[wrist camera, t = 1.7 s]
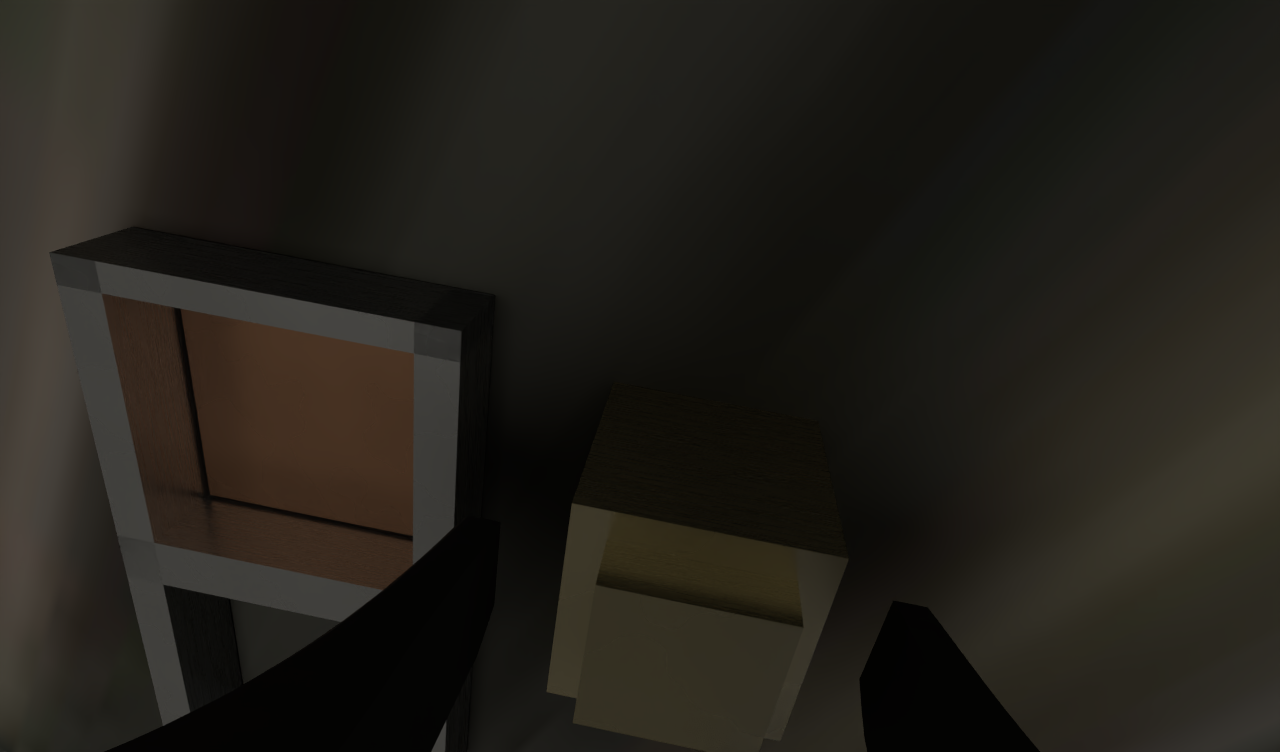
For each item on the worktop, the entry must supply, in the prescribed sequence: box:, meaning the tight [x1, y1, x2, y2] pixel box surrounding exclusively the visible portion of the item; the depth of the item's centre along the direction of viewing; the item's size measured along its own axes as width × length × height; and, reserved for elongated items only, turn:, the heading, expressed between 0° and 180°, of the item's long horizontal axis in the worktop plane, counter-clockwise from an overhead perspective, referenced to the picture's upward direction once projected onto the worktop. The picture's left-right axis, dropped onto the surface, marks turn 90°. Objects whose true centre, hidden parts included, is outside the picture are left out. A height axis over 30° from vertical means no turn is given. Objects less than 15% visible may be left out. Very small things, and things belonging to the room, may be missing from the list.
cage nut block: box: [547, 382, 849, 752], centre depth 14 cm, size 4×4×6 cm
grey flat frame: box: [49, 227, 495, 752], centre depth 17 cm, size 15×8×2 cm, turn 171°
